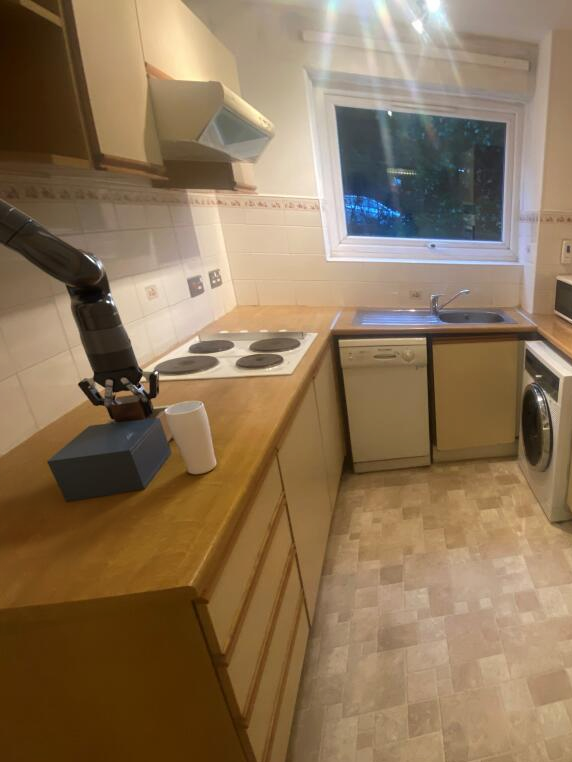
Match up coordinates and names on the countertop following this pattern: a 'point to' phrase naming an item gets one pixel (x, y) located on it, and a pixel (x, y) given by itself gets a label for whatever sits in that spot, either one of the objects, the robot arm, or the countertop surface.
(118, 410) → the block
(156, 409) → the drawer
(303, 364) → the countertop surface
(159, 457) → the dark grey box
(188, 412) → the drinking glass
